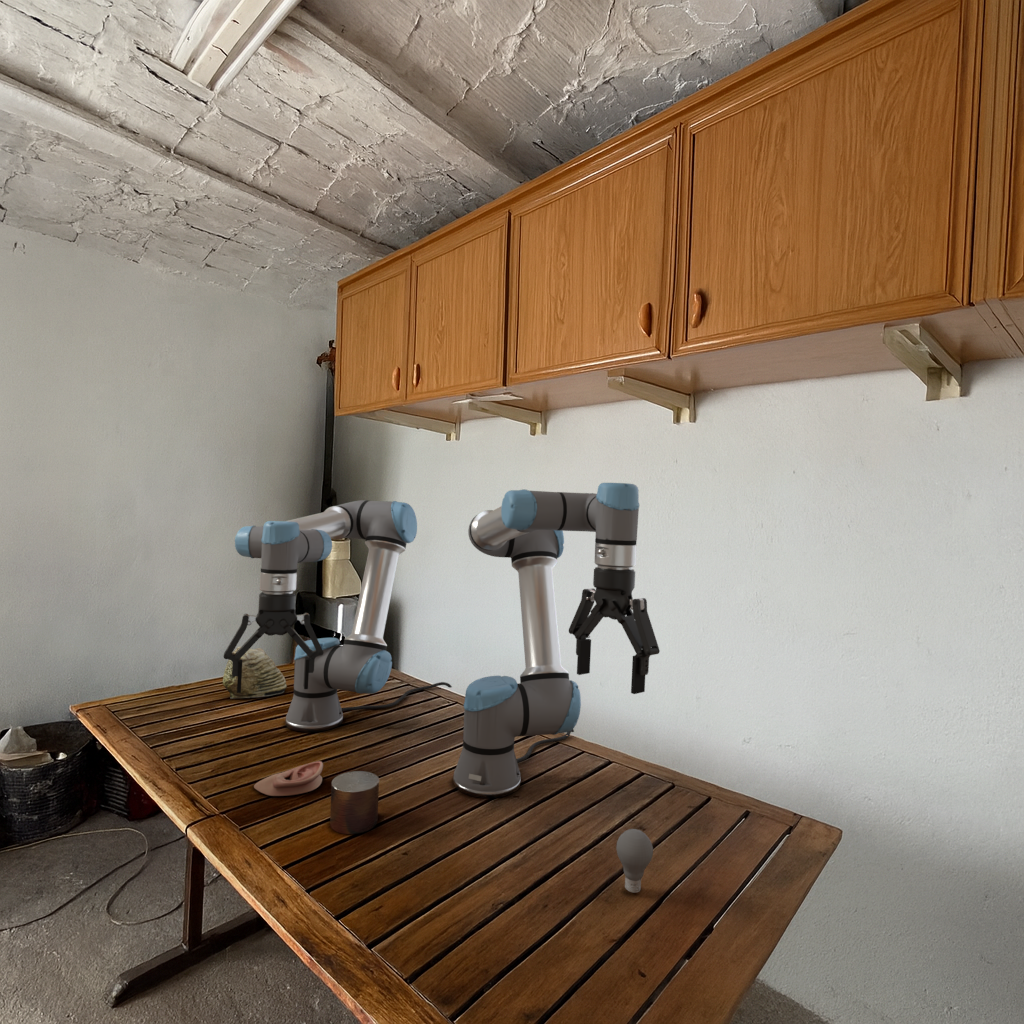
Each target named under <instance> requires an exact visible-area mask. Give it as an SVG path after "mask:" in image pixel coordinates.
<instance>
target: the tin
mask: <svg viewBox="0 0 1024 1024" xmlns="http://www.w3.org/2000/svg"><path fill="white" fill-rule="evenodd" d="M379 793H380V778H379V776H378V775H377V774H375V773H372V772H371V771H365V770H364V771H363V770H355V771H348V772H344V773H341V774H338V775H336V776H335V777H334V778H333V779H332V780H331V791H330V814H329V815H330V816H329V826H330V828H331V830H333V832H336V833H339V834H342V835H357V834H361V833H362V834H363V833H366V832H368V831H370V830H372V829H373V828H375V827H376V825H377V824H378V820H379V819H378V818H379Z"/></svg>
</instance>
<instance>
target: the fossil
mask: <svg viewBox="0 0 1024 1024" xmlns="http://www.w3.org/2000/svg"><path fill="white" fill-rule="evenodd" d="M241 647H242V646H238V647H237V648H235V649H234V651H233V652H232V653H234V654H235V653H236V652H237V651H238V650H239V649H240V648H241ZM240 659H243V660H242V679H241V693H237V681H238V676H235V677H233V676H232V664H233V663H232V661H231V660H229V659H227V663H226V666H225V668H224V671H223V675H222V676H223V677H222V685H223V687H224V688H225V690H226V691H228V693H229V698H230V699H250V698H264V697H271V696H275V695H281V694H284V693H285V691H286V689H287V687H288V686H287V680H286V678H285V676H284V674H283V673H282V672H281V669H279V668H278V667H277V665H276V663H275V662H274V660H273V659H272V658H271V657H270V656H269V655H268V654H267V653H266V652H265V650H264V649H263V648H260V647H258V648H250V649H249V650H248V651H247V652H246V653H245V654H244V655H243V656H242V657H241V658H240Z"/></svg>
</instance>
